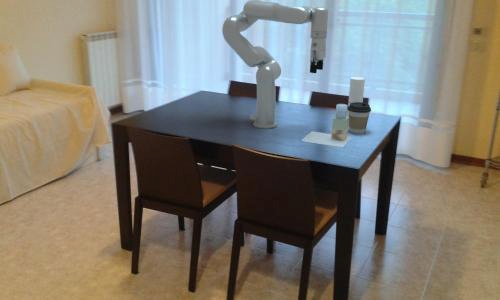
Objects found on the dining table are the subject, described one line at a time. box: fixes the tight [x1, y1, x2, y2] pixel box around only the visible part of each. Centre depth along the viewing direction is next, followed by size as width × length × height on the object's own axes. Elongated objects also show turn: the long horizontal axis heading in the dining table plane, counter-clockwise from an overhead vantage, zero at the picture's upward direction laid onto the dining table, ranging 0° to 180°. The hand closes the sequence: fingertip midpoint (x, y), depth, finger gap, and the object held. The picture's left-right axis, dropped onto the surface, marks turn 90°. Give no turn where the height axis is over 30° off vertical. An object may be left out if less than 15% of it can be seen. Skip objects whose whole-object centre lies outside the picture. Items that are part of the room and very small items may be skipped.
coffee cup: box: [347, 102, 372, 134], centre depth 237 cm, size 11×11×15 cm
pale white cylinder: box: [335, 103, 348, 119], centre depth 224 cm, size 5×5×6 cm
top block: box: [331, 115, 349, 131], centre depth 226 cm, size 6×6×5 cm
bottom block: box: [331, 127, 349, 141], centre depth 228 cm, size 6×6×5 cm
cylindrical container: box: [347, 76, 366, 128], centre depth 248 cm, size 7×7×25 cm
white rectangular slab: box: [300, 130, 352, 148], centre depth 227 cm, size 20×16×2 cm
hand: (316, 71), depth 233 cm, fingers open, 9 cm apart
